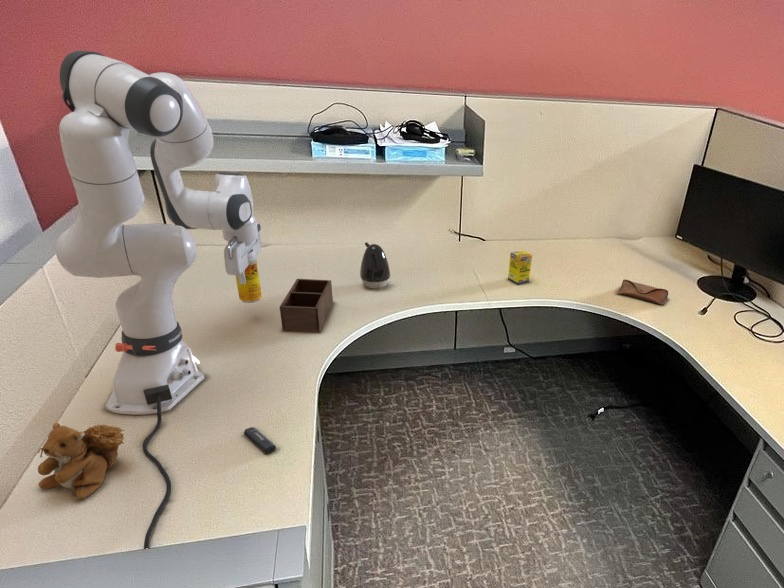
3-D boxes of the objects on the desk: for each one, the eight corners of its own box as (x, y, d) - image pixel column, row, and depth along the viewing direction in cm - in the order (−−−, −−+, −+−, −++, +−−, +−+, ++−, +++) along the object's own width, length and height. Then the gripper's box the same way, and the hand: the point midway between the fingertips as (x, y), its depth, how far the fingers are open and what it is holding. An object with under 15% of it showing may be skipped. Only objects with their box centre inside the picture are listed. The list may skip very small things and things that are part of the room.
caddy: (319, 332, 166) (317, 308, 162) (282, 331, 165) (279, 306, 161) (333, 302, 184) (331, 280, 180) (299, 301, 183) (296, 278, 179)
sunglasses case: (616, 293, 210) (621, 276, 210) (618, 296, 217) (623, 280, 217) (663, 305, 205) (669, 287, 205) (664, 308, 212) (669, 291, 211)
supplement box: (517, 285, 210) (520, 257, 204) (507, 279, 214) (510, 252, 208) (529, 281, 214) (532, 254, 208) (519, 276, 217) (521, 249, 212)
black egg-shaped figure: (379, 277, 204) (378, 237, 197) (396, 287, 198) (395, 246, 191) (354, 283, 198) (352, 242, 190) (371, 294, 192) (369, 251, 184)
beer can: (254, 305, 163) (246, 255, 155) (235, 301, 164) (226, 252, 156) (266, 297, 168) (259, 249, 161) (247, 294, 169) (239, 246, 161)
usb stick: (277, 450, 122) (276, 444, 121) (266, 455, 120) (265, 450, 119) (254, 430, 127) (253, 424, 126) (243, 435, 125) (242, 429, 124)
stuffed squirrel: (34, 490, 106) (9, 436, 99) (105, 447, 118) (86, 395, 111) (72, 507, 104) (49, 453, 97) (141, 461, 115) (124, 409, 108)
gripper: (239, 244, 147) (247, 293, 154) (262, 221, 165) (268, 266, 172) (214, 243, 146) (223, 292, 153) (240, 220, 164) (247, 265, 171)
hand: (247, 278), depth 163 cm, fingers closed on beer can, 6 cm apart
